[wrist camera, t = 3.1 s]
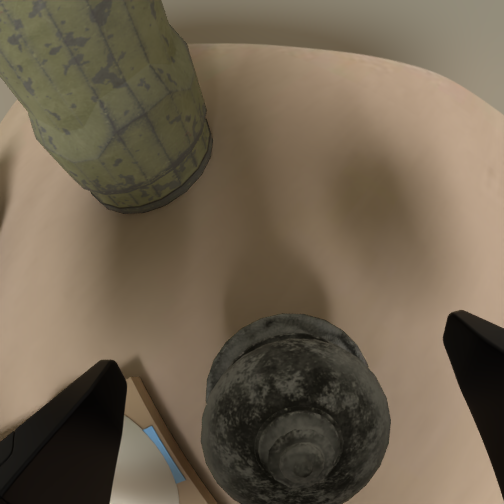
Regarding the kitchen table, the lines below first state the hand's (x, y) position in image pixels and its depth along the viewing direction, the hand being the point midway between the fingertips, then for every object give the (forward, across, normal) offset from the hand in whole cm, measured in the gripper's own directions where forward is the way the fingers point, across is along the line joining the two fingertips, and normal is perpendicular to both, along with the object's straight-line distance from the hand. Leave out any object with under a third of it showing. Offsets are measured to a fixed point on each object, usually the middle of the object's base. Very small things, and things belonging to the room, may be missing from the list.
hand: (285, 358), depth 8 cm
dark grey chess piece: (+4, 0, +6) cm, 7 cm away
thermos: (+14, +7, -4) cm, 16 cm away
